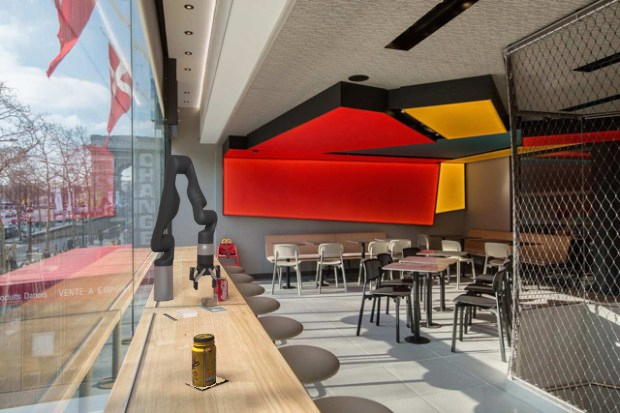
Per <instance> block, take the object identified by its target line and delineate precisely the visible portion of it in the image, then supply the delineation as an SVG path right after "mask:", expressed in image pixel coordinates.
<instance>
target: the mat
mask: <svg viewBox="0 0 620 413" xmlns="http://www.w3.org/2000/svg"><path fill="white" fill-rule="evenodd" d="M162 316H165V317H167V318H168V319H170V320H172V321H174V322H175V321H176V322H177V321H179V320H178V319H176V318H174V317H173V316H171V315H169V314H167V313H162Z"/></svg>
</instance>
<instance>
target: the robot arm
mask: <svg viewBox="0 0 620 413" xmlns="http://www.w3.org/2000/svg"><path fill="white" fill-rule="evenodd" d="M177 175H184V176H185V177H186V179H187V187H186V196H187V198H188V200H189V203H190V205H191V207H192V208H191V209H192V214H193V219H194V221H195V223H196V224H197V225H199V226H204V229H202V230H200V231H198V233H197V246H196V248H197V249H196V266H194V267H193V266H190V267H189V275H188V278H189V281H191V282H193V284H192V285H193V289H194V291H198V290H199V279H200V278H201V277H205V276H210V278H212V279H211V288H215V287H216V283H217V279H218V278H220V277H222V276H221V265H219V264H215V265H214V263H215V262H214V261H215V246H214V244H215V242H214V240H215V239H214V238H215V237H214V235H215V231H216V227H217V224H218V213H217V212H216V211H215V210H214V209H204V208H206V207H207V205H208V201H207V199H206V197H205V194H204V193H203V191H202V188H201V186H200V184H199V180H198V179H199V178H198V176H197V173H196V170H195V166H194V163H193V161H192V158H191V157H190V156H188V155H184V154H183V155H182V154H170V155H169V156H168V158H167V159H166V165H165V173H164V180H163V181H164V183H163V189H162V193H161V198H160V202H159V206H158V212H157V216H156V217H157V218H156V222H155V225H154V229H153V231H152V235H151V238H150V251H152V252H153V253H162V255H161V256H160V257H159V258H157V259H154V260H153V301H154V302H155V301H156V302H164V301H172V300H173V299H174V259H175V248H176V247H175V245H176V244H175V236H174V235H173V234H171V233H165V230H166V228H167V227H168V225H169V224H170V223H171V222H172V221H173V220H174V219H175V217H177V215H178V212H179V211H180V210H179V209H180V206H181V205H180V204H181V197H180V196H181V195H180V194H179V192H178V189H177V185H176V182H177V180H176V178H177ZM214 270H215V273H214ZM195 272H196V273H195Z"/></svg>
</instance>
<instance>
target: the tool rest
mask: <svg viewBox="0 0 620 413" xmlns="http://www.w3.org/2000/svg"><path fill="white" fill-rule="evenodd" d="M196 306H197V307H199V308H201V309H203V310H205V311H209V312H210V313H218V312H224V311H225V312H226V311H227V309H225V308H224V310H220V311H211V310H209V308H207V307H204V306H202V304H197V305H196Z"/></svg>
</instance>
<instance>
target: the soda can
mask: <svg viewBox="0 0 620 413" xmlns="http://www.w3.org/2000/svg"><path fill="white" fill-rule="evenodd" d="M212 290H213V292H212V293H213V294H212V297H213V298H212V299H214V300H217V302H227V301H228V300H229V280H228V279H227V277H226V276H221V277H220V278H218V279H217V283H216V287H215V288H213V289H212Z"/></svg>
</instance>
